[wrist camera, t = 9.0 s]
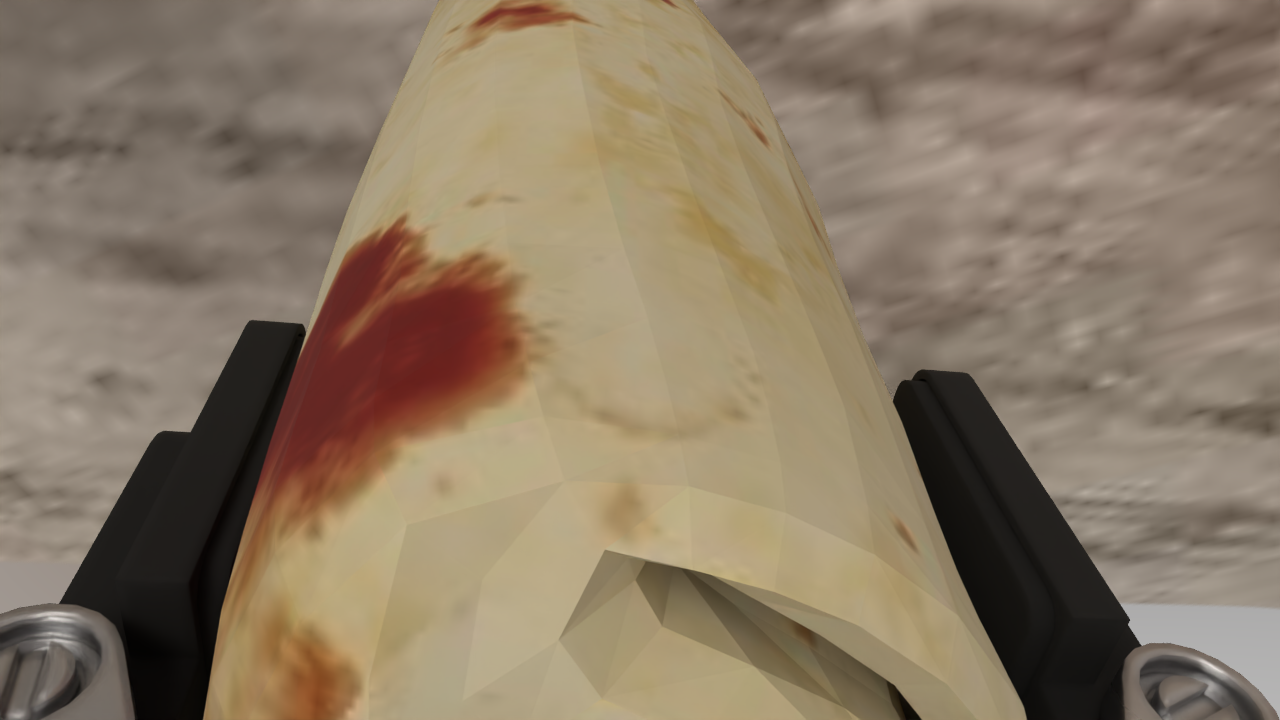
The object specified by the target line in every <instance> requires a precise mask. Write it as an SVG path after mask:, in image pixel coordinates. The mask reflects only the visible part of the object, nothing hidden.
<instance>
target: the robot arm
mask: <svg viewBox="0 0 1280 720" xmlns="http://www.w3.org/2000/svg"><path fill="white" fill-rule="evenodd" d="M305 336H306V332H305V328H304V326H303V324H298V323H284V322H270V321H257V320H251V321H249V322H248V323H247V325H246V326H245V328H244V330H243V332H242V334H241V336H240V338H239V340H238V342H237V344H236V346H235V348H234V350H233V352H232V353H231V355H230V357H229V359H228V361H227V363H226V365H225V367H224V369H223V371H222V373H221V375H220V377H219V379H218V381H217V382H216V384H215V386H214V388H213V390H212V392H211V394H210V396H209V398H208V400H207V402H206V404H205V406H204V408H203V410H202V411H201V413H200V415H199V417H198V419H197V421H196V423H195V425H194V427H193V429H192V431H191V432H174V431H162V432H160V433H158V434H157V435H156V436H155V437H154V439H153V440H152V441H151V443H150V444H149V446H148V448H147V450H146V451H145V453H144V455H143V457H142V458H141V460H140V462H139V464H138V465H137V467H136V469H135V471H134V473H133V474H132V476H131V478H130V480H129V481H128V483H127V485H126V487H125V488H124V490H123V492H122V494H121V495H120V497H119V499H118V501H117V503H116V504H115V506H114V508H113V510H112V511H111V513H110V515H109V517H108V518H107V520H106V522H105V524H104V525H103V527H102V529H101V531H100V533H99V534H98V536H97V538H96V540H95V541H94V543H93V545H92V547H91V548H90V550H89V552H88V554H87V555H86V557H85V559H84V561H83V563H82V564H81V566H80V568H79V570H78V572H77V573H76V575H75V577H74V579H73V580H72V582H71V584H70V586H69V587H68V589H67V591H66V592H65V595H64V596H63V598H62V600H61V601H60V603H59V604H53V603H48V604H41V605H35V606H28V607H21V608H17V609H14V610H11V611H9V612H5V613H2V614H0V720H203V717H204V711H205V705H206V699H207V693H208V687H209V681H210V675H211V669H212V663H213V658H214V652H215V646H216V640H217V634H218V628H219V622H220V616H221V610H222V606H223V603H224V599H225V596H226V592H227V588H228V585H229V581H230V578H231V574H232V571H233V567H234V563H235V560H236V556H237V553H238V549H239V546H240V542H241V538H242V535H243V531H244V528H245V525H246V521H247V518H248V515H249V511H250V508H251V505H252V501H253V498H254V495H255V491H256V488H257V485H258V481H259V478H260V475H261V471H262V468H263V465H264V462H265V458H266V455H267V452H268V448H269V445H270V442H271V439H272V436H273V433H274V430H275V427H276V424H277V421H278V418H279V415H280V412H281V409H282V406H283V403H284V400H285V397H286V394H287V391H288V388H289V385H290V382H291V379H292V376H293V373H294V370H295V367H296V364H297V361H298V358H299V355H300V352H301V349H302V346H303V343H304V339H305ZM893 404H894V406H895V408H896V410H897V413H898V415H899V417H900V419H901V421H902V424H903V427H904V430H905V432H906V435H907V438H908V441H909V443H910V446H911V449H912V452H913V454H914V457H915V460H916V463H917V466H918V468H919V471H920V474H921V477H922V479H923V482H924V485H925V488H926V490H927V493H928V496H929V499H930V502H931V504H932V507H933V510H934V512H935V515H936V518H937V520H938V523H939V525H940V528H941V530H942V533H943V536H944V538H945V541H946V543H947V546H948V548H949V551H950V554H951V556H952V559H953V561H954V564H955V566H956V569H957V571H958V574H959V576H960V578H961V580H962V582H963V585H964V587H965V589H966V591H967V593H968V596H969V598H970V600H971V602H972V604H973V607H974V609H975V611H976V613H977V615H978V618H979V620H980V621H981V623H982V625H983V627H984V629H985V631H986V633H987V635H988V637H989V639H990V641H991V643H992V645H993V647H994V649H995V651H996V653H997V655H998V657H999V659H1000V661H1001V663H1002V665H1003V667H1004V669H1005V671H1006V673H1007V675H1008V677H1009V679H1010V680H1011V682H1012V684H1013V686H1014V688H1015V690H1016V692H1017V694H1018V696H1019V698H1020V700H1021V702H1022V704H1023V706H1024V710H1025V714H1026V718H1027V720H1279V717H1278V715H1277V713H1276V711H1275V710H1274V708H1273V707H1272V706H1271V705H1270V703H1269V702H1268V701H1267V699H1266V698H1265V697H1264V696H1263V694H1262V693H1261V692H1260V691H1259V690H1258V689H1257V688H1256V687H1255V686H1253V685H1252V684H1251V683H1250V682H1249V681H1248V680H1247V679H1246V678H1244V677H1243V676H1242V675H1241V674H1240V673H1238V672H1236V671H1235V670H1233V669H1232V668H1230V667H1228V666H1227V665H1225V664H1224V663H1222V662H1221V661H1219V660H1218V659H1215V658H1213V657H1211V656H1208V655H1206V654H1204V653H1202V652H1199V651H1197V650H1195V649H1192V648H1187V647H1183V646H1179V645H1175V644H1171V643H1149V644H1146V645H1144V646H1141V644H1140V643H1139V641H1138V640H1137V638H1136V637H1135V635H1134V634H1133V632H1132V631H1131V629H1130V628H1129V626H1128V623H1129V621H1130V619H1129V617H1128V616H1127V614H1126V613H1125V611H1124V610H1123V608H1122V606H1121V605H1120V603H1119V602H1118V600H1117V599H1116V597H1115V596H1114V594H1113V593H1112V591H1111V590H1110V588H1109V587H1108V585H1107V584H1106V582H1105V580H1104V579H1103V577H1102V576H1101V574H1100V573H1099V571H1098V570H1097V568H1096V567H1095V565H1094V564H1093V562H1092V561H1091V559H1090V557H1089V556H1088V554H1087V553H1086V551H1085V550H1084V548H1083V547H1082V545H1081V544H1080V542H1079V541H1078V539H1077V538H1076V536H1075V534H1074V533H1073V531H1072V530H1071V528H1070V527H1069V525H1068V524H1067V522H1066V521H1065V519H1064V518H1063V516H1062V515H1061V513H1060V511H1059V510H1058V508H1057V507H1056V505H1055V504H1054V502H1053V501H1052V499H1051V498H1050V496H1049V495H1048V493H1047V492H1046V490H1045V488H1044V487H1043V485H1042V484H1041V482H1040V481H1039V479H1038V478H1037V476H1036V475H1035V473H1034V472H1033V470H1032V469H1031V467H1030V466H1029V464H1028V462H1027V461H1026V459H1025V458H1024V456H1023V455H1022V453H1021V452H1020V450H1019V449H1018V447H1017V446H1016V444H1015V443H1014V441H1013V439H1012V438H1011V436H1010V435H1009V433H1008V432H1007V430H1006V429H1005V427H1004V426H1003V424H1002V423H1001V421H1000V420H999V418H998V416H997V415H996V413H995V412H994V410H993V409H992V407H991V406H990V404H989V403H988V401H987V400H986V398H985V397H984V395H983V393H982V392H981V390H980V389H979V387H978V386H977V384H976V383H975V381H974V380H973V378H972V377H971V376H970V375H969V374H967V373H962V372H949V371H935V370H920V371H918V372H917V373H916V374H915V375H914V377H913V379H912V380H904V381H902V382H901V383H900V384H899V386H898V388H897V391H896V393H895V396H894V400H893Z"/></svg>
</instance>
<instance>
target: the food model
mask: <svg viewBox="0 0 1280 720" xmlns="http://www.w3.org/2000/svg"><path fill="white" fill-rule="evenodd" d="M203 720H1027V718H1026V714H1025V710H1024V706H1023V704H1022V702H1021V700H1020V698H1019V696H1018V694H1017V692H1016V690H1015V688H1014V686H1013V684H1012V682H1011V680H1010V679H1009V677H1008V675H1007V673H1006V671H1005V669H1004V667H1003V665H1002V663H1001V661H1000V659H999V657H998V655H997V653H996V651H995V649H994V647H993V645H992V643H991V641H990V639H989V637H988V635H987V633H986V631H985V629H984V627H983V625H982V623H981V621H980V620H979V618H978V615H977V613H976V611H975V609H974V607H973V604H972V602H971V600H970V598H969V596H968V593H967V591H966V589H965V587H964V585H963V582H962V580H961V578H960V576H959V574H958V571H957V569H956V566H955V564H954V561H953V559H952V556H951V554H950V551H949V548H948V546H947V543H946V541H945V538H944V536H943V533H942V530H941V528H940V525H939V523H938V520H937V518H936V515H935V512H934V510H933V507H932V504H931V502H930V499H929V496H928V493H927V490H926V488H925V485H924V482H923V479H922V477H921V474H920V471H919V468H918V466H917V463H916V460H915V457H914V454H913V452H912V449H911V446H910V443H909V441H908V438H907V435H906V432H905V430H904V427H903V424H902V421H901V419H900V417H899V415H898V413H897V410H896V408H895V406H894V404H893V401H892V399H891V397H890V395H889V392H888V390H887V388H886V386H885V383H884V381H883V379H882V377H881V374H880V372H879V370H878V368H877V365H876V363H875V361H874V359H873V357H872V354H871V352H870V350H869V348H868V345H867V343H866V341H865V339H864V336H863V334H862V331H861V328H860V326H859V323H858V320H857V318H856V315H855V312H854V310H853V307H852V305H851V302H850V299H849V297H848V294H847V291H846V289H845V286H844V283H843V281H842V278H841V275H840V273H839V270H838V267H837V264H836V261H835V258H834V255H833V252H832V248H831V245H830V242H829V239H828V235H827V232H826V229H825V226H824V222H823V219H822V216H821V213H820V209H819V206H818V204H817V202H816V200H815V198H814V196H813V194H812V192H811V190H810V188H809V186H808V184H807V182H806V179H805V177H804V175H803V173H802V171H801V169H800V167H799V165H798V163H797V161H796V159H795V157H794V155H793V153H792V151H791V149H790V147H789V145H788V143H787V141H786V139H785V137H784V135H783V133H782V131H781V128H780V126H779V124H778V122H777V120H776V118H775V116H774V114H773V112H772V110H771V108H770V106H769V104H768V102H767V100H766V98H765V96H764V94H763V92H762V90H761V88H760V86H759V84H758V82H757V80H756V79H755V77H754V76H753V75H752V74H751V72H750V71H749V70H748V69H747V67H746V66H745V65H744V64H743V63H742V61H741V60H740V59H739V58H738V56H737V55H736V54H735V53H734V51H733V50H732V49H731V48H730V46H729V45H728V44H727V43H726V42H725V40H724V39H723V38H722V37H721V36H720V34H719V33H718V32H717V31H716V30H715V28H714V27H713V26H712V25H711V24H710V22H709V21H708V20H707V19H706V17H705V16H704V15H703V13H702V12H701V10H700V9H699V8H698V6H697V5H696V4H695V2H694V1H693V0H439V2H438V4H437V6H436V8H435V10H434V12H433V14H432V16H431V19H430V21H429V23H428V25H427V28H426V30H425V32H424V34H423V37H422V39H421V41H420V43H419V46H418V48H417V50H416V52H415V55H414V57H413V59H412V61H411V64H410V66H409V68H408V70H407V73H406V75H405V77H404V79H403V82H402V84H401V86H400V88H399V91H398V93H397V95H396V97H395V100H394V102H393V104H392V106H391V109H390V111H389V113H388V116H387V118H386V120H385V122H384V125H383V127H382V129H381V131H380V134H379V136H378V138H377V141H376V143H375V146H374V148H373V150H372V153H371V155H370V158H369V160H368V162H367V165H366V167H365V170H364V172H363V174H362V177H361V179H360V182H359V184H358V186H357V189H356V191H355V194H354V196H353V198H352V201H351V203H350V206H349V208H348V210H347V213H346V216H345V218H344V221H343V224H342V227H341V230H340V233H339V236H338V239H337V241H336V244H335V247H334V250H333V253H332V256H331V259H330V262H329V264H328V267H327V270H326V273H325V276H324V279H323V282H322V286H321V289H320V292H319V295H318V298H317V301H316V305H315V308H314V311H313V314H312V317H311V320H310V324H309V327H308V330H307V333H306V336H305V339H304V343H303V346H302V349H301V352H300V355H299V358H298V361H297V364H296V367H295V370H294V373H293V376H292V379H291V382H290V385H289V388H288V391H287V394H286V397H285V400H284V403H283V406H282V409H281V412H280V415H279V418H278V421H277V424H276V427H275V430H274V433H273V436H272V439H271V442H270V445H269V448H268V452H267V455H266V458H265V462H264V465H263V468H262V471H261V475H260V478H259V481H258V485H257V488H256V491H255V495H254V498H253V501H252V505H251V508H250V511H249V515H248V518H247V521H246V525H245V528H244V531H243V535H242V538H241V542H240V546H239V549H238V553H237V556H236V560H235V563H234V567H233V571H232V574H231V578H230V581H229V585H228V588H227V592H226V596H225V599H224V603H223V606H222V610H221V616H220V622H219V628H218V634H217V640H216V646H215V652H214V658H213V663H212V669H211V675H210V681H209V687H208V693H207V699H206V705H205V711H204V717H203Z"/></svg>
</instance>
